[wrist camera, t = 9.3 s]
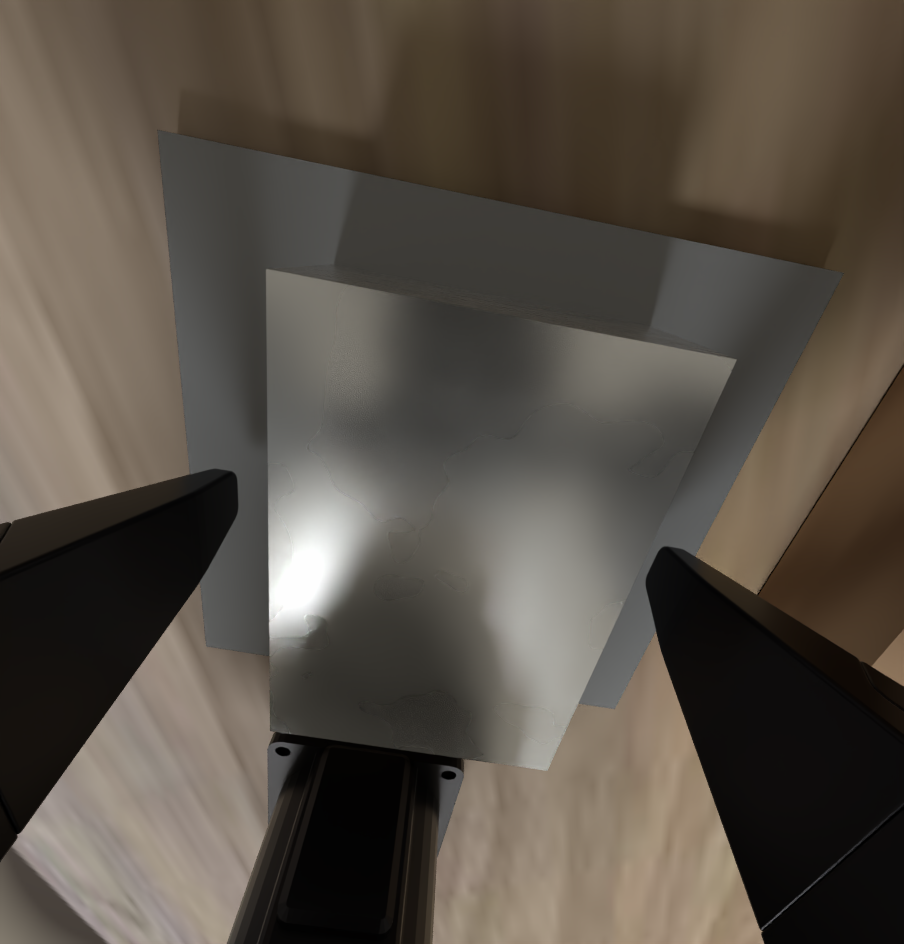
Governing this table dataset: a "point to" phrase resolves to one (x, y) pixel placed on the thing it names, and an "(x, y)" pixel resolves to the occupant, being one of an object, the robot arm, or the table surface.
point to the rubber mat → (464, 267)
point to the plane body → (855, 549)
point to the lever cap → (459, 505)
